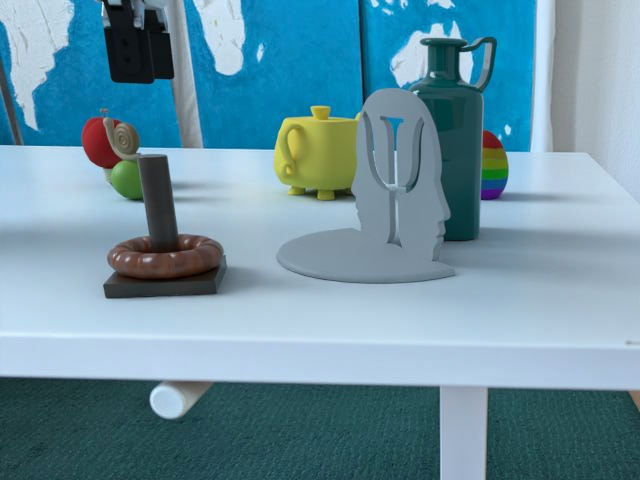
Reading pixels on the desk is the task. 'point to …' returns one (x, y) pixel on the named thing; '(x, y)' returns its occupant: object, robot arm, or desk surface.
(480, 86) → the pitcher
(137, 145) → the snail figurine
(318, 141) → the teapot
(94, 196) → the desk surface
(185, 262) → the ring
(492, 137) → the decorative egg
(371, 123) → the ornament
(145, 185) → the post
